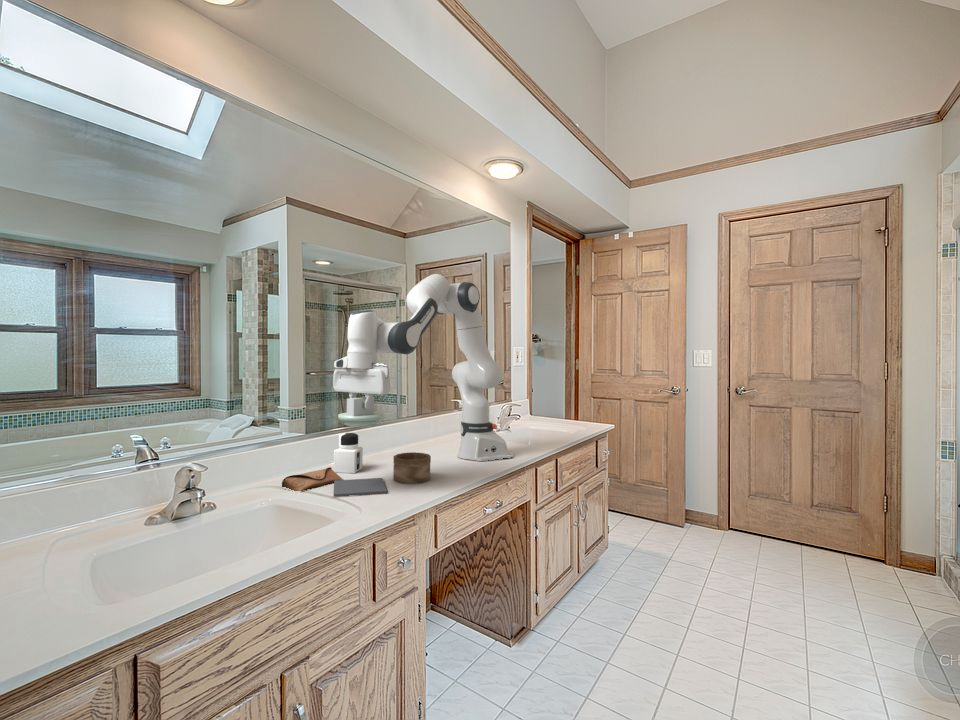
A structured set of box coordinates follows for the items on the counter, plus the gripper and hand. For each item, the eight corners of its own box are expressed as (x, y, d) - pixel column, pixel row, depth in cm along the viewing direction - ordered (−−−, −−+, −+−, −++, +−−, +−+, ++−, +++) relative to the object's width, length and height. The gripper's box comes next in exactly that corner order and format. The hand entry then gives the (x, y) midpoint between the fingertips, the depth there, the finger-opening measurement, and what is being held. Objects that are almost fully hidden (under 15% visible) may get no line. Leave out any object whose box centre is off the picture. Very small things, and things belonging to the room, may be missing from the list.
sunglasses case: (298, 493, 134) (291, 471, 136) (285, 501, 137) (279, 480, 139) (347, 480, 149) (340, 461, 151) (334, 488, 152) (328, 469, 154)
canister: (426, 473, 159) (426, 451, 159) (433, 482, 148) (433, 459, 148) (391, 475, 156) (391, 453, 156) (395, 484, 144) (395, 461, 144)
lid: (359, 420, 149) (359, 395, 149) (390, 423, 143) (391, 398, 143) (328, 424, 137) (329, 398, 137) (361, 428, 131) (362, 400, 131)
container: (362, 468, 165) (363, 432, 165) (354, 473, 157) (355, 435, 157) (341, 467, 165) (342, 431, 165) (333, 472, 158) (333, 435, 158)
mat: (382, 480, 149) (382, 477, 149) (386, 493, 135) (386, 490, 135) (334, 483, 145) (334, 480, 145) (333, 497, 131) (333, 494, 131)
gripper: (395, 363, 138) (394, 409, 138) (344, 362, 147) (343, 404, 147) (381, 363, 132) (380, 411, 132) (330, 361, 142) (329, 406, 142)
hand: (360, 408), depth 140 cm, fingers closed on lid, 3 cm apart
